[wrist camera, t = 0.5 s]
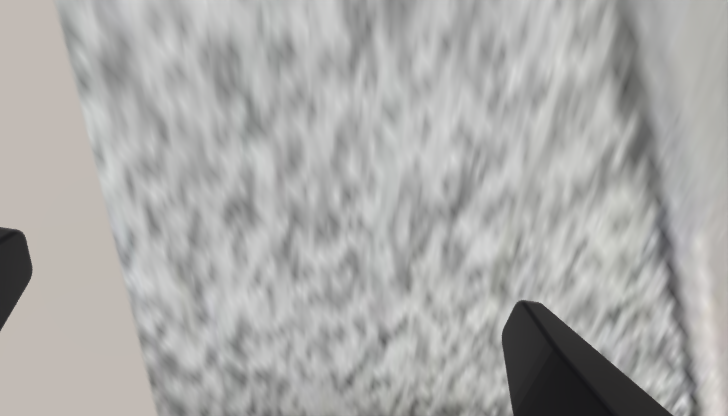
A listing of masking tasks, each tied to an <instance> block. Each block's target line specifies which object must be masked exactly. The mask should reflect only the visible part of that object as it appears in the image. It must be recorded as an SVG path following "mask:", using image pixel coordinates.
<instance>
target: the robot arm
mask: <svg viewBox="0 0 728 416" xmlns="http://www.w3.org/2000/svg"><path fill="white" fill-rule="evenodd" d="M31 276H32V263H31V259H30V255H29V250H28V246H27V241H26V237H25V235H24V234H23V232H21V231H20V230H17V229H9V228H3V227H0V331H1V329H2V327H3V326H4V324H5V322H6V321H7V319H8V317H9V315H10V314H11V312H12V310H13V309H14V307H15V305H16V303H17V302H18V300H19V298H20V297H21V295H22V293H23V292H24V290H25V288H26V286H27V285H28V283H29V281H30V279H31ZM502 345H503V352H504V358H505V365H506V372H507V378H508V385H509V391H510V398H511V404H512V410H513V415H514V416H673V415H672V414H671V413H669V412H668V411H667V410H666V409H665V408H664V407H662V406H661V405H660V404H659V403H658V402H656V401H655V400H654V399H653V398H652V397H651V396H649V395H648V394H647V393H646V392H645V391H644V390H642V389H641V388H640V387H639V386H638V385H637V384H635V383H634V382H633V381H632V380H631V379H630V378H628V377H627V376H626V375H625V374H624V373H622V372H621V371H620V370H619V369H618V368H617V367H615V366H614V365H613V364H612V363H611V362H610V361H608V360H607V359H606V358H605V357H604V356H603V355H601V354H600V353H599V352H598V351H597V350H595V349H594V348H593V347H592V346H591V345H590V344H588V343H587V342H586V341H585V340H584V339H583V338H581V337H580V336H579V335H578V334H577V333H576V332H574V331H573V330H572V329H571V328H570V327H568V326H567V325H566V324H565V323H564V322H563V321H561V320H560V319H559V318H558V317H557V316H556V315H554V314H553V313H552V312H551V311H550V310H549V309H547V308H546V307H545V306H544V305H543V304H541V303H539V302H534V301H526V300H520V301H518V302H517V303H516V305H515V306H514V308H513V310H512V312H511V314H510V316H509V318H508V320H507V322H506V324H505V326H504V329H503V332H502Z"/></svg>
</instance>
